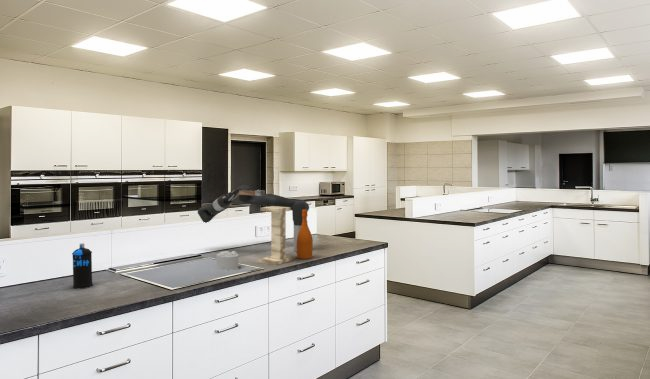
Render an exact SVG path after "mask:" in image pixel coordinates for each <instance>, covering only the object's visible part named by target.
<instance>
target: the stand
mask: <svg viewBox="0 0 650 379" xmlns="http://www.w3.org/2000/svg"><path fill="white" fill-rule="evenodd" d="M290 211H292V210H291V207H279V206H270V207H266V206H263V207H260V212H265V213H266V212H269V213H271V214H270V216H271V219H270V220H271V221H270V222H271V223H270V224H271V226H270V227H271V230H270V231H271V232H270V234H271V237H270V238H271V240H270V242H271V244H270V245H271V247H270V249H271V252H270V253H271V255H268V256H266V257H262V258H259V259H258V263H260V264H267V265H272V266H278V265H282V264H285V263H288V262H291V261H293V256H290V255H286V253H287V252H286V247H287V246H286V244H287V242H286V239H287V238H286V237H287V236H286V233H287V230H286V228H287V226H286V225H287V224H286V221H287V220H286V219H287V217H286V215H287V214H286V213H287V212H290Z"/></svg>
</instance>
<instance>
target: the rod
mask: <svg viewBox="0 0 650 379" xmlns="http://www.w3.org/2000/svg"><path fill="white" fill-rule="evenodd" d="M232 191H235V189H233V190H232ZM265 191H266V190H264V189H261V190H260V189H258V190H257V189H255V190H251V191H242V190H239V192H238V193H237V195H253V196H263V195H265V194H266V193H265Z"/></svg>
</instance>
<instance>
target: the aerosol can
mask: <svg viewBox="0 0 650 379" xmlns="http://www.w3.org/2000/svg"><path fill="white" fill-rule="evenodd" d="M92 253H93V251H91V250H90V249H89V248H85V243H84V242H83V243H79V248H77V249H75V250H73V252H72V253H71V255H72V278H73V280H72V283H73V285H72V288H74V289H77V288H80V289H87V288H86V287H88V288H91V287H92V286H93V285H94V284H93V264H92V263H93V262H92ZM90 286H91V287H90Z"/></svg>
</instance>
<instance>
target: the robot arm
mask: <svg viewBox="0 0 650 379" xmlns="http://www.w3.org/2000/svg"><path fill="white" fill-rule="evenodd" d="M234 190H235V191H233V190H232V191H229V192H227V193H225V194H222V195H220V196H219V197H217V198H216V199H215V200H214V201H213V202H211V203H210V204H208V205H205V206H201V207H199V208H198V210H197V214H198V216H199V217H200V219H201V222H203V223H204V222H205V224H207V222H208V223H209V222H211V221H212V220H213V219H214V218H215V217H216V216H217V215H218V214H220V213H221V212H224V211H225V210H227V209H228V208H229V207H230V206H231V204H232V203H233V201H235V200H238V201H239V202H241V203H244V204H250V205H252V204H253V205H258V206H263V207H270V206H279V207H291V211H292V214H291V215H292V222H293V251H294V252H297V236H298V233H299V231H300V228H301V225H302V219H303V217H302V210H303V209H306V210H307V213H308V212H309V210H310V205H309V204H308V202H307V201H305V200H300V199H299V200H298V199H291V198H288V197H285V196H283V195H282V196H281V195H278V194H273V193H265V195H263V196H256V195H237V193H238V192H239V190H242V191H252V190H251V187H250V186H249V185H247V184H242V185H240V186H238V187H237V188H235V189H234Z"/></svg>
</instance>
